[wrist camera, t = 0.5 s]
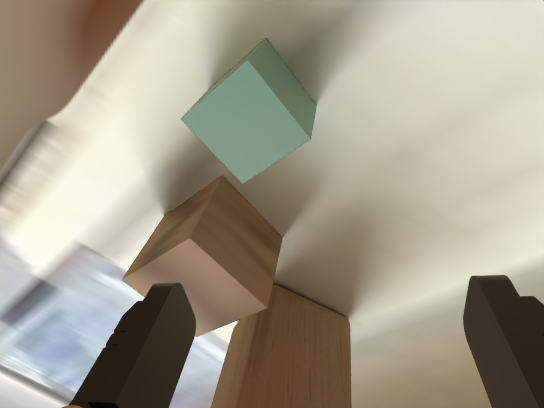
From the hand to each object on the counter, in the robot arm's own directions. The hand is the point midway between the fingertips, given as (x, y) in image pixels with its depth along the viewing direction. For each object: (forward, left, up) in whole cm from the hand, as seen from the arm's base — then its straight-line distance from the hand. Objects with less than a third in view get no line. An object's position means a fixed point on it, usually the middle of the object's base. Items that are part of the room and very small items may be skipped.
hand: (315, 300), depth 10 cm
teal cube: (+4, -3, -18) cm, 18 cm away
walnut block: (+15, +4, -18) cm, 24 cm away
